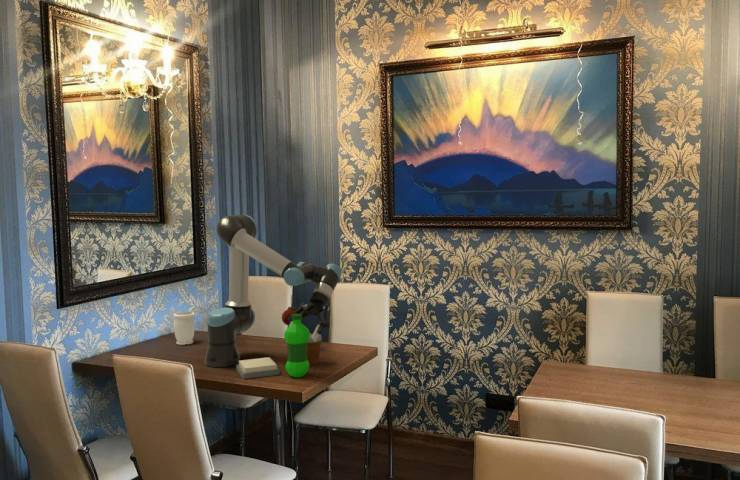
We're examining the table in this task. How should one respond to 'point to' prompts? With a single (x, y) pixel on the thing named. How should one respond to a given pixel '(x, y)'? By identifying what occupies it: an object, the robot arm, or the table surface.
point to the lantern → (288, 314)
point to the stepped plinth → (257, 374)
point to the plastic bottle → (297, 347)
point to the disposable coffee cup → (313, 349)
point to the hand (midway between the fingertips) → (299, 338)
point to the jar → (184, 327)
